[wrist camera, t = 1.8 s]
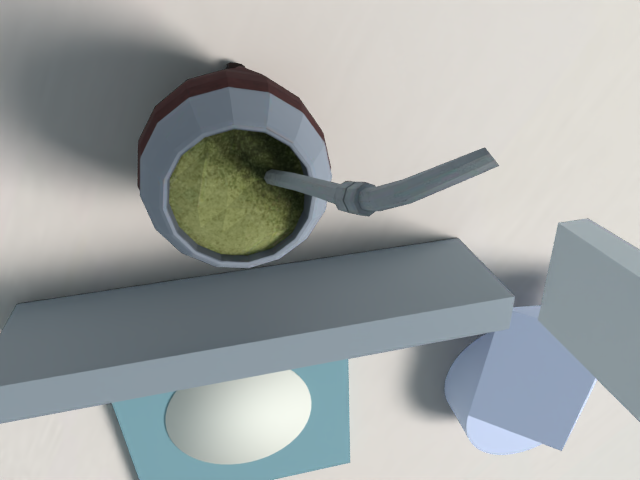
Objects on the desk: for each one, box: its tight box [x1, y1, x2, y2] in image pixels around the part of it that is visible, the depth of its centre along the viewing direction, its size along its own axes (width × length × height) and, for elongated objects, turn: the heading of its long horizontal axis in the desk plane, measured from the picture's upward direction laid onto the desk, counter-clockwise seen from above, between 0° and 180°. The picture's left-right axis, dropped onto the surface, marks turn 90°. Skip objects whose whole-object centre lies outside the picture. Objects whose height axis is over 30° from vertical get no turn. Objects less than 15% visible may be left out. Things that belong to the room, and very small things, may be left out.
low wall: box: [0, 238, 515, 424], centre depth 24 cm, size 2×24×6 cm, turn 92°
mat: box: [112, 359, 350, 480], centre depth 31 cm, size 14×14×1 cm
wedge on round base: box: [444, 305, 597, 455], centre depth 31 cm, size 9×7×13 cm
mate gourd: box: [138, 63, 499, 268], centre depth 16 cm, size 8×8×15 cm
